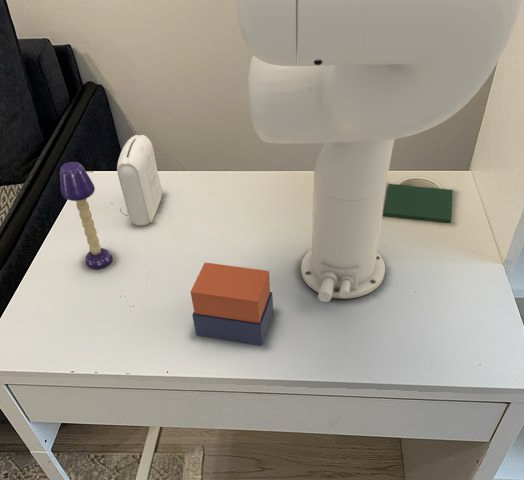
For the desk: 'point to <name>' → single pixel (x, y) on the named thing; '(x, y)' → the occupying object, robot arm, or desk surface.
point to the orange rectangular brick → (231, 292)
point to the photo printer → (139, 180)
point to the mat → (418, 203)
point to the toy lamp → (84, 210)
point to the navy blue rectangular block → (235, 326)
